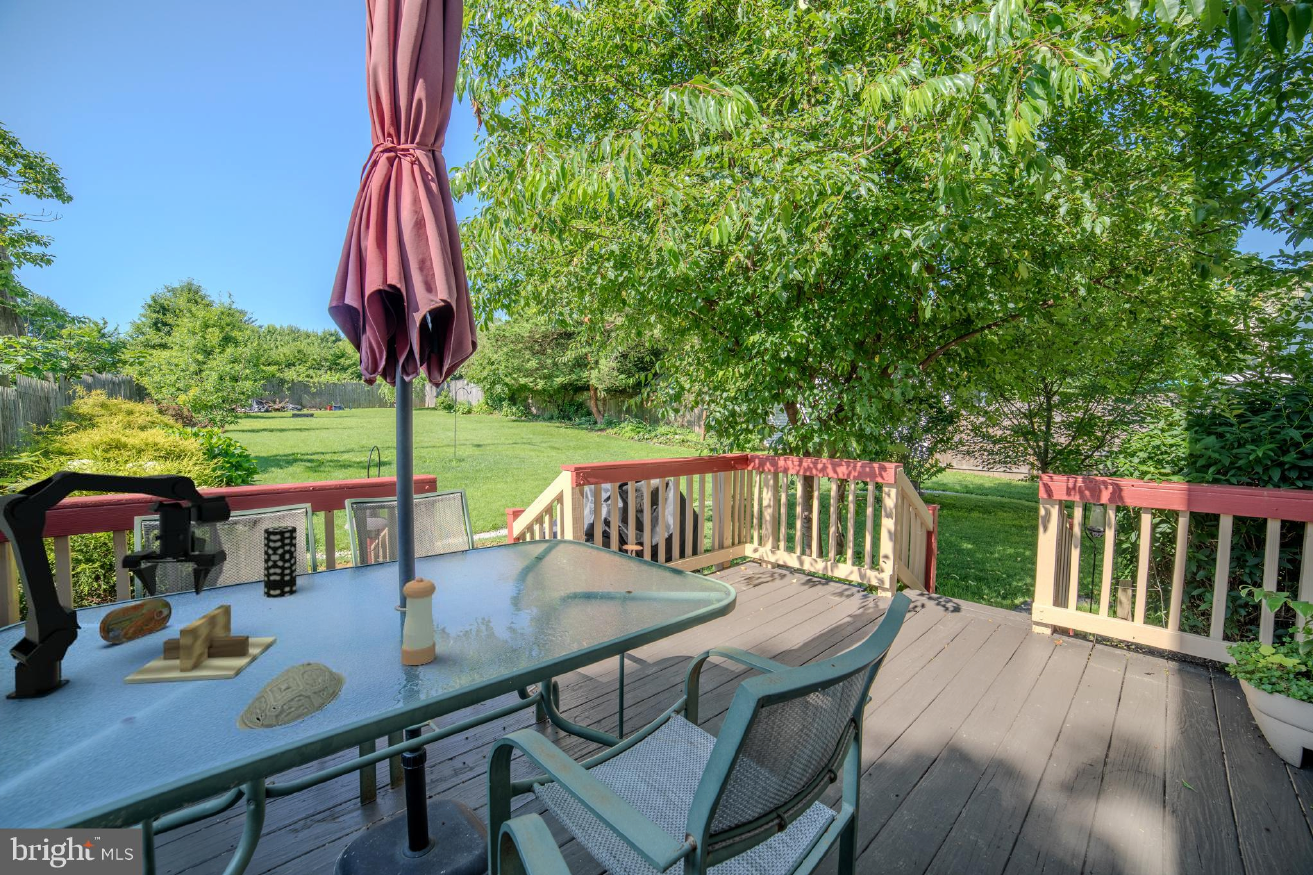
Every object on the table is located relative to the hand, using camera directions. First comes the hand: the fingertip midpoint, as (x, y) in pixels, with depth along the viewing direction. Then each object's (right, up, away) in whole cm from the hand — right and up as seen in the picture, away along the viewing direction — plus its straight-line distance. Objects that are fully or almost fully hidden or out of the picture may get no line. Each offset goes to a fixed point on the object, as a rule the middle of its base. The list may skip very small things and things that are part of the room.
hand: (175, 595), depth 134 cm
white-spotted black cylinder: (-3, -11, +43) cm, 44 cm away
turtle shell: (+41, -16, -20) cm, 48 cm away
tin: (-16, -13, +8) cm, 22 cm away
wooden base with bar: (+11, -14, -4) cm, 18 cm away
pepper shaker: (+57, -15, -1) cm, 59 cm away
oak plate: (+11, -13, -4) cm, 17 cm away
